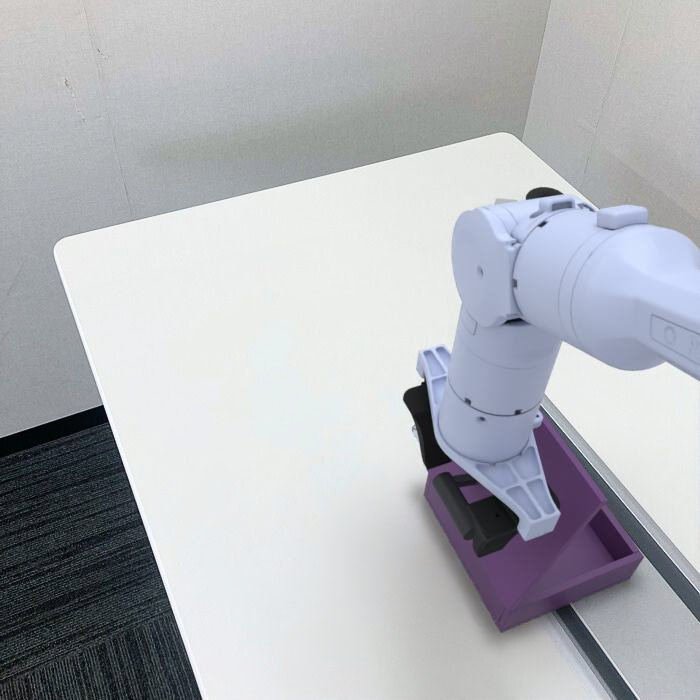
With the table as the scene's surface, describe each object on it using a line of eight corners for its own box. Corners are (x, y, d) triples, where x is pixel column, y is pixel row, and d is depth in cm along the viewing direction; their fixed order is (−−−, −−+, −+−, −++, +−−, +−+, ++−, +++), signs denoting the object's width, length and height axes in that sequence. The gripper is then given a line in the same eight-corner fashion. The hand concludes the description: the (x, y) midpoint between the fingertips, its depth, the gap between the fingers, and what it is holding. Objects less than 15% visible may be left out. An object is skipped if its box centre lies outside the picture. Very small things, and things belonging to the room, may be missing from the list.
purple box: (541, 453, 69) (551, 429, 67) (630, 578, 61) (644, 557, 58) (423, 494, 66) (428, 471, 63) (500, 633, 57) (509, 612, 55)
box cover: (500, 355, 55) (452, 357, 53) (608, 500, 47) (557, 510, 45) (431, 468, 63) (387, 474, 61) (513, 609, 55) (466, 622, 53)
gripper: (627, 452, 41) (565, 572, 51) (493, 285, 50) (462, 414, 60) (516, 493, 39) (473, 609, 49) (396, 310, 48) (381, 440, 58)
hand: (461, 504), depth 54 cm, fingers open, 7 cm apart
